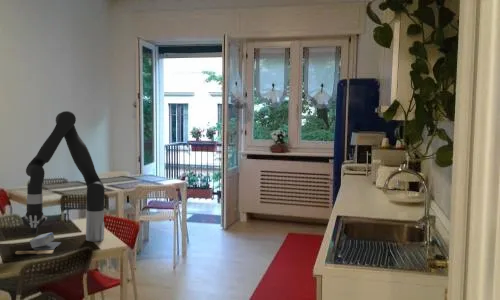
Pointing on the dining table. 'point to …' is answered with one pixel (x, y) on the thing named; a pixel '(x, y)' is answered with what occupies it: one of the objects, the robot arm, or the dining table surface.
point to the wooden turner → (35, 252)
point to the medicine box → (42, 240)
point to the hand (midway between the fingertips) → (34, 234)
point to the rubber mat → (48, 246)
